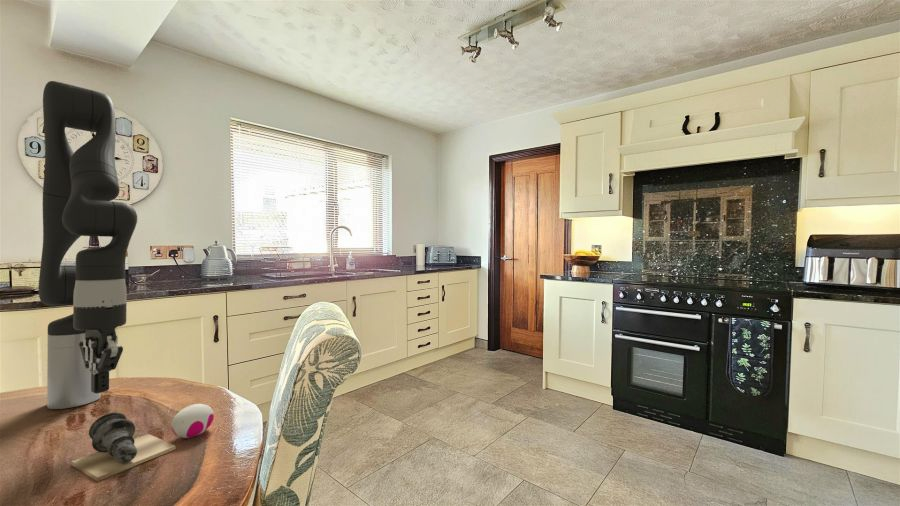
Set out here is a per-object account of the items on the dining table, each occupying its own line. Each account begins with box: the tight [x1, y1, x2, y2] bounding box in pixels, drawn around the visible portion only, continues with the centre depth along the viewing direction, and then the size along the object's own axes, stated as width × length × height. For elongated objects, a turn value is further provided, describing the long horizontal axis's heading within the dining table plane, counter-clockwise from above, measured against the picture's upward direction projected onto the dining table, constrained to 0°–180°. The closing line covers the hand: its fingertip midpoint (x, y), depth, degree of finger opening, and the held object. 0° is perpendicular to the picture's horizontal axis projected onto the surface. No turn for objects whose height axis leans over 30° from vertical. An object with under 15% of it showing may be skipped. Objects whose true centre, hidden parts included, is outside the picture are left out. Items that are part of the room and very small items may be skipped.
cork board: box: [71, 433, 177, 482], centre depth 65 cm, size 10×11×1 cm
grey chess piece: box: [88, 411, 137, 464], centre depth 64 cm, size 6×6×12 cm
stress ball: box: [170, 403, 215, 439], centre depth 73 cm, size 8×8×7 cm
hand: (100, 391), depth 72 cm, fingers closed
